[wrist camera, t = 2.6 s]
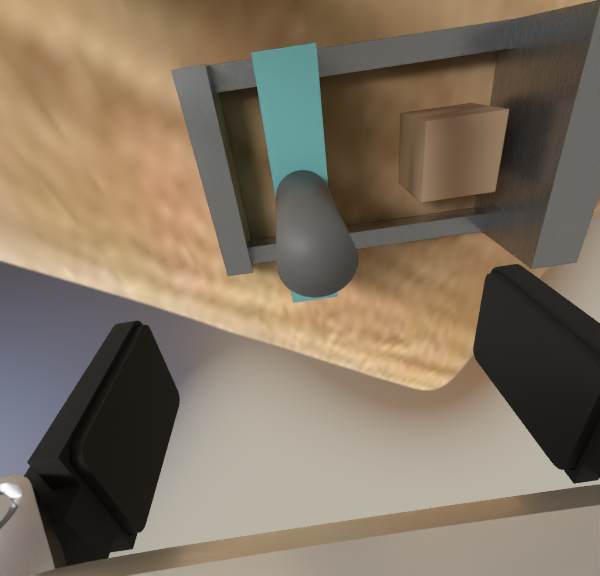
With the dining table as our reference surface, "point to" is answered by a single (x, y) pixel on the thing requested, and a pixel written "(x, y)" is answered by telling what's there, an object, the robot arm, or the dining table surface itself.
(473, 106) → the walnut block
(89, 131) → the dining table surface
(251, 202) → the dining table surface
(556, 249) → the vise bed
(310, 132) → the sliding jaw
